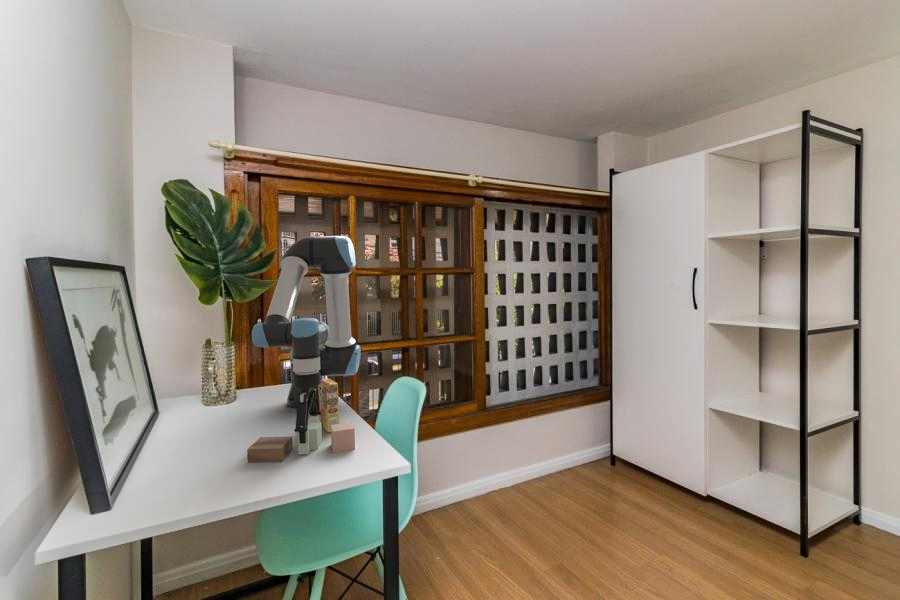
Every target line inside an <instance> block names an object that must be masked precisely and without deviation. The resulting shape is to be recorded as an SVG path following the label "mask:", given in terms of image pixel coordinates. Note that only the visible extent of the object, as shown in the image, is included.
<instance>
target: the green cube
mask: <svg viewBox="0 0 900 600" xmlns="http://www.w3.org/2000/svg"><path fill="white" fill-rule="evenodd" d="M301 427H303V426H301ZM308 430H309V451H311V450H313V451H314V450H319V448H320V446H321V444H322V442H323V438H322V437H323V435H322V433H323V431H322V427H321V422H320V421H318V422H313V423H309V422H308ZM294 433H295V451H299V450H298V432H295V431H294Z"/></svg>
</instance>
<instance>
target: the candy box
mask: <svg viewBox="0 0 900 600" xmlns="http://www.w3.org/2000/svg"><path fill="white" fill-rule="evenodd" d="M318 393H319V408H320V410H319V411H321V415H319V422H321V428H323V430H324V431H326V432H327V433H331V425H334V424H340V407H339V406H340V404H339V403H340V402H339V384H338V383H337V382H336V381H334V380H333V379H331V378H324V379H323V378H322V380H321V383H320V384H319V385H318Z"/></svg>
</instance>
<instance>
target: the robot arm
mask: <svg viewBox="0 0 900 600" xmlns="http://www.w3.org/2000/svg"><path fill="white" fill-rule="evenodd" d="M355 252H356V251H355V248H354V244H353V242H352V240H351V238H349V237H347V236H341V235H331V236H329V235H327V236H326V235H325V236H304V237H302V238H300V239H299V240H296V241H295V242H294V243H292V244H291V245H290V246H289V247H288V249H287V250H286V251H285V253H284V254H283V255H282V258H281V261H280V264H279V265H280V269H281V271H280V272H279V276H278V280H277V283H276V287H275V289H274V292H273V294H272V295H273V296H272V298H271V301H270V305H269V307H268V310H267V314H266V316H265V320H264V322H257V323H255V324H254V325H253V328H252V330H251V339H252V343H253V344H254V346H255V347H257V348H283V347H284V348H286V347H289V348H290V347H291V349H290V353H289V354H290V356H289V357H290V358H289V360H290V361H289V362H290V381H291V382H290V388H289V392H288V394H287V395H288V396H287V399H286V405H287V407H290V408H293V409H296V418H295V420H296V421H295V428H294V433H295V432H298V450H297V451H298V455H309V454H310V450H309V430H308V423H313V422H319V416H320V415H321V411H319V410H320V408H319V393H318V385H319V384H320V383H321V380H323V377H339V376H341V377H342V376H343V377H346V376H354V375H356V374H357V372H358V370H359V367H360V362H361V354H362V353H361V351H362V349H361V346H360V345H359V344H357V341H356V339H355V338H354V337H353V336H352V324H351V308H350V307H351V306H350V305H351V304H350V292H349V291H350V290H349V276H350V275H351V273H353V272H352V269H353V268H355V267H356V264H357V261H356V253H355ZM309 269H319V275H321V276H322V277H323V278H324V279H323V280H324V290H325V302H326V303H325V305H326V318H327V323H326V322H324V321H321V320H318V319H317V318H315V317H303V318H294V319H293V320H292V317H293V314H294V311H295V306H296V303H297V300H298V296H299V293H300V289H301V286H302V282H303V278H304V276H305V275H306V274H307V273H308V271H309ZM291 320H292V321H291ZM301 426H303V427H301Z"/></svg>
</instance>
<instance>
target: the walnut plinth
mask: <svg viewBox="0 0 900 600" xmlns="http://www.w3.org/2000/svg"><path fill="white" fill-rule="evenodd" d="M293 442H294V441H293V436H261V437H259V438H258V439H257V440H256V441H255V442H254V443H252V445H250V446H249V447H248V448H247V450H246V453H247V455H246V457H247V464H256V463H257V464H259V463H260V464H261V463H264V464H265V463H283V461H285V459H286V458H287V457H288V455H289V454H290V453H291V452H292V451H293V449H294V448H293V447H294V446H293V444H294V443H293ZM291 450H292V451H291ZM285 457H286V458H285Z"/></svg>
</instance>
